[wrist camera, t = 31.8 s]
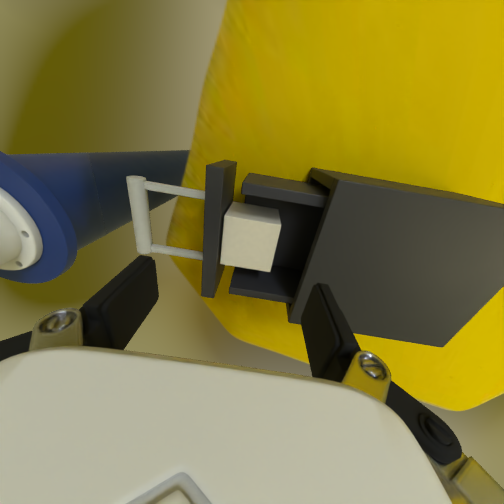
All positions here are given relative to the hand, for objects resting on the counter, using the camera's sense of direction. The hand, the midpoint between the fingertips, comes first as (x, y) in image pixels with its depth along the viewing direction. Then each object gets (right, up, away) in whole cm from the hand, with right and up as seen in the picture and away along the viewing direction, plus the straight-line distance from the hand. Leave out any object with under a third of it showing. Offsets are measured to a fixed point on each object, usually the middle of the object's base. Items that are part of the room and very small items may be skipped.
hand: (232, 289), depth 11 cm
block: (+1, +5, +9) cm, 10 cm away
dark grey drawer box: (+13, +4, +11) cm, 17 cm away
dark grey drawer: (+1, +5, +9) cm, 11 cm away
